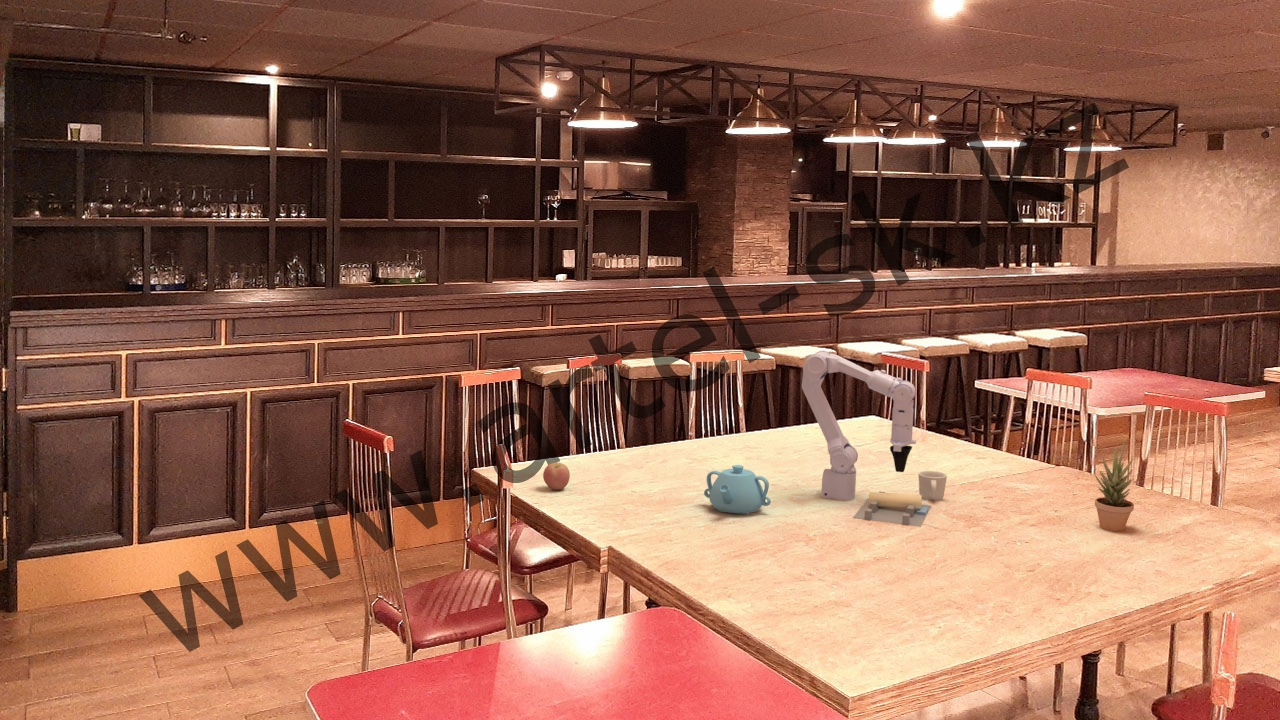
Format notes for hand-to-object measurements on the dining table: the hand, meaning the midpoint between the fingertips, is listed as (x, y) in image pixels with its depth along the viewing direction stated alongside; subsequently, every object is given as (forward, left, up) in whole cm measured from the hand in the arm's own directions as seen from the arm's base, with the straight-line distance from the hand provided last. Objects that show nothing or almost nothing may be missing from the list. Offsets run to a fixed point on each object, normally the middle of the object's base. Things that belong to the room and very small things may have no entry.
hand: (899, 471), depth 292 cm
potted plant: (+56, +5, -11) cm, 57 cm away
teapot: (-41, -25, -11) cm, 49 cm away
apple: (-96, -26, -11) cm, 100 cm away
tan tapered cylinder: (0, -6, -9) cm, 11 cm away
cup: (+8, +10, -11) cm, 17 cm away
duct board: (0, -9, -10) cm, 14 cm away
